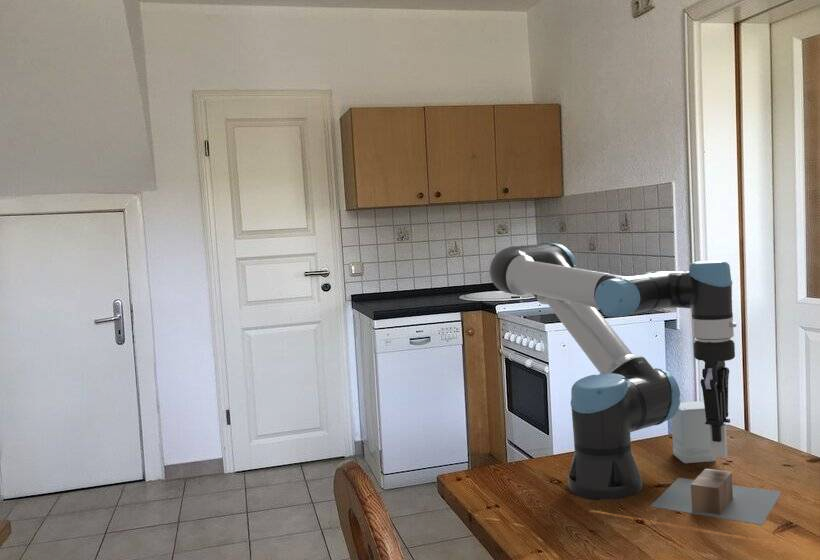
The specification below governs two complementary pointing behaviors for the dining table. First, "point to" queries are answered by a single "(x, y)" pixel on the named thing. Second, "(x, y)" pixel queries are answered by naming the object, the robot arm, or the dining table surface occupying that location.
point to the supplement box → (691, 433)
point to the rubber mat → (742, 507)
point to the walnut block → (712, 491)
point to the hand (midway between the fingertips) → (719, 455)
